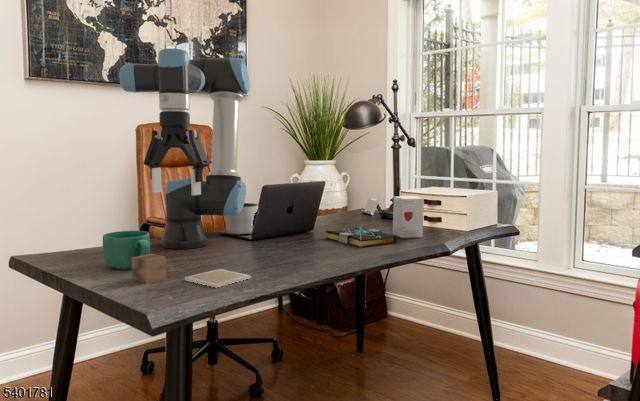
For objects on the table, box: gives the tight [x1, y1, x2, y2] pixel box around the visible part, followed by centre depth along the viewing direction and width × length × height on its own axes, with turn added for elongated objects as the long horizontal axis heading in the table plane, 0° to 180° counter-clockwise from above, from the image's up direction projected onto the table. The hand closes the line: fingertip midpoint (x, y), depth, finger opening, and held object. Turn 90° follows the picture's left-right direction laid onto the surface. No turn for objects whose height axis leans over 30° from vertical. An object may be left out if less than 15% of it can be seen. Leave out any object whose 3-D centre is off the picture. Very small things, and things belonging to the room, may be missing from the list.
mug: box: [102, 230, 151, 270], centre depth 151 cm, size 17×13×10 cm
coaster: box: [184, 268, 252, 289], centre depth 139 cm, size 12×12×1 cm
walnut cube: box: [131, 253, 167, 284], centre depth 138 cm, size 6×6×6 cm
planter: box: [225, 202, 259, 235], centre depth 209 cm, size 12×13×11 cm
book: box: [325, 226, 399, 249], centre depth 194 cm, size 22×17×5 cm
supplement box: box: [392, 195, 425, 239], centre depth 204 cm, size 9×9×15 cm
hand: (176, 193), depth 140 cm, fingers open, 13 cm apart
